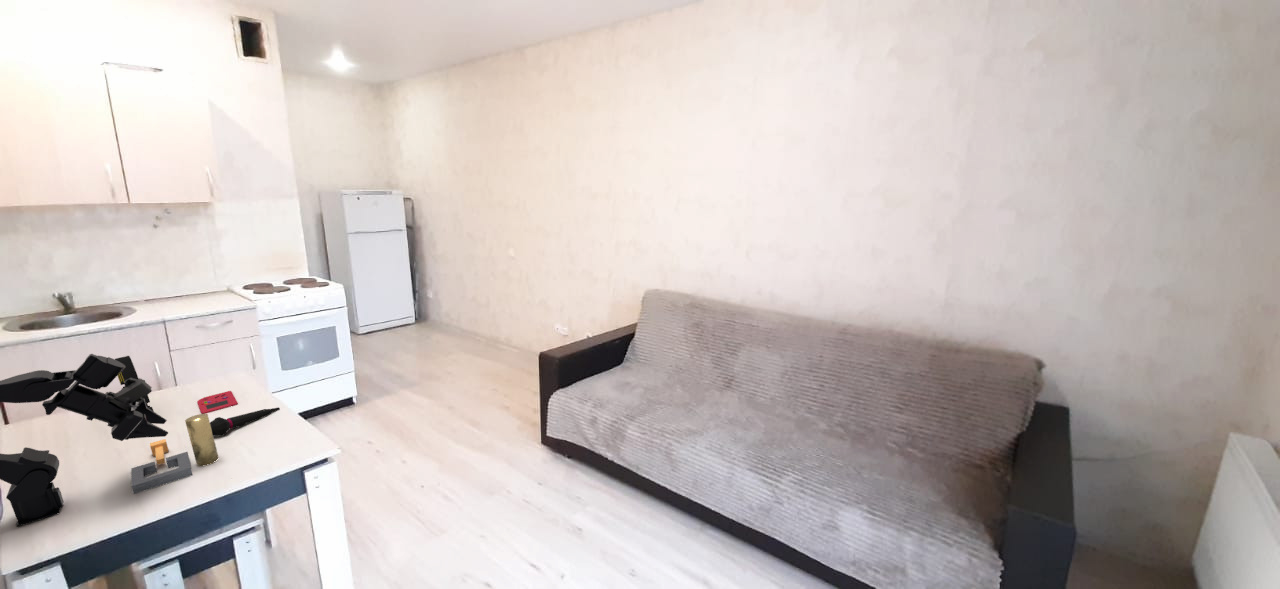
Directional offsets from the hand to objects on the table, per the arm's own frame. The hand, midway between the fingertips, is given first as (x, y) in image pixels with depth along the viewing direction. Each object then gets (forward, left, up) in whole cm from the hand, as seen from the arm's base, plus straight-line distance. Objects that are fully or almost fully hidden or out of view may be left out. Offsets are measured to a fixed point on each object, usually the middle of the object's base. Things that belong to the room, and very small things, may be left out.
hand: (166, 428), depth 129 cm
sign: (-7, +53, -13) cm, 55 cm away
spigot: (+6, 0, -12) cm, 14 cm away
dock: (-3, 0, -12) cm, 13 cm away
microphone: (+17, +18, -13) cm, 28 cm away
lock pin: (-3, +11, -12) cm, 16 cm away
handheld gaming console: (+12, +45, -13) cm, 48 cm away
